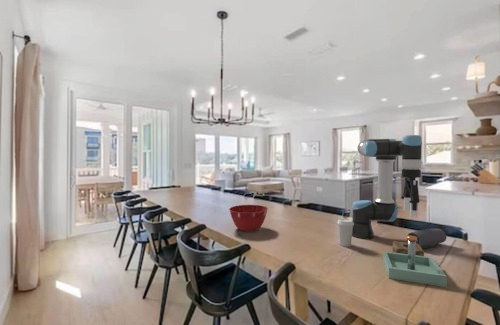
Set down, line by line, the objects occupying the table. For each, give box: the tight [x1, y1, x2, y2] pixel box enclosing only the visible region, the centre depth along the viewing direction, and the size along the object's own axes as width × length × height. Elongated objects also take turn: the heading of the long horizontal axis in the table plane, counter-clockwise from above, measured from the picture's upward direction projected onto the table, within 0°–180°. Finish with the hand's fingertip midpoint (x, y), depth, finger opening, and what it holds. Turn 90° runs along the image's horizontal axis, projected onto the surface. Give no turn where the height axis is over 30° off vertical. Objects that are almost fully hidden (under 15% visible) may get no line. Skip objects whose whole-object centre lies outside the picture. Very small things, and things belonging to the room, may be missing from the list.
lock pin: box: [406, 235, 417, 270], centre depth 117 cm, size 4×4×15 cm
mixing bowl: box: [228, 204, 268, 233], centre depth 186 cm, size 28×28×15 cm
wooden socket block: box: [392, 240, 425, 256], centre depth 134 cm, size 12×12×6 cm
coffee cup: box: [337, 218, 354, 248], centre depth 153 cm, size 10×10×15 cm
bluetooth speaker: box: [406, 228, 447, 249], centre depth 150 cm, size 23×9×10 cm, turn 111°
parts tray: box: [382, 250, 448, 288], centre depth 117 cm, size 21×21×4 cm
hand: (410, 214), depth 118 cm, fingers open, 13 cm apart
